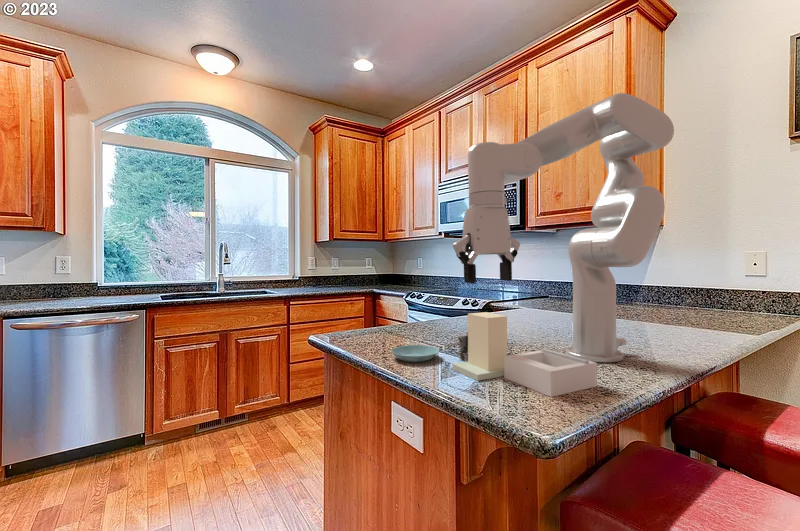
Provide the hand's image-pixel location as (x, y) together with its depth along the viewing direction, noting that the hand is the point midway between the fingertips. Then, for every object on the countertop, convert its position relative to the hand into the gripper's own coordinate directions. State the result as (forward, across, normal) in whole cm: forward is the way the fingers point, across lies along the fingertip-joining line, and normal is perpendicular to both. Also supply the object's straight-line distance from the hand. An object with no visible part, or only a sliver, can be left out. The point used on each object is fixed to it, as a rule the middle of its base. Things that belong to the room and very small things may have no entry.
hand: (488, 281), depth 82 cm
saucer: (+20, +10, -17) cm, 28 cm away
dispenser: (+20, -5, +11) cm, 23 cm away
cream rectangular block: (+18, +1, 0) cm, 18 cm away
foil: (+20, -5, -9) cm, 23 cm away
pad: (+19, +1, 0) cm, 19 cm away
